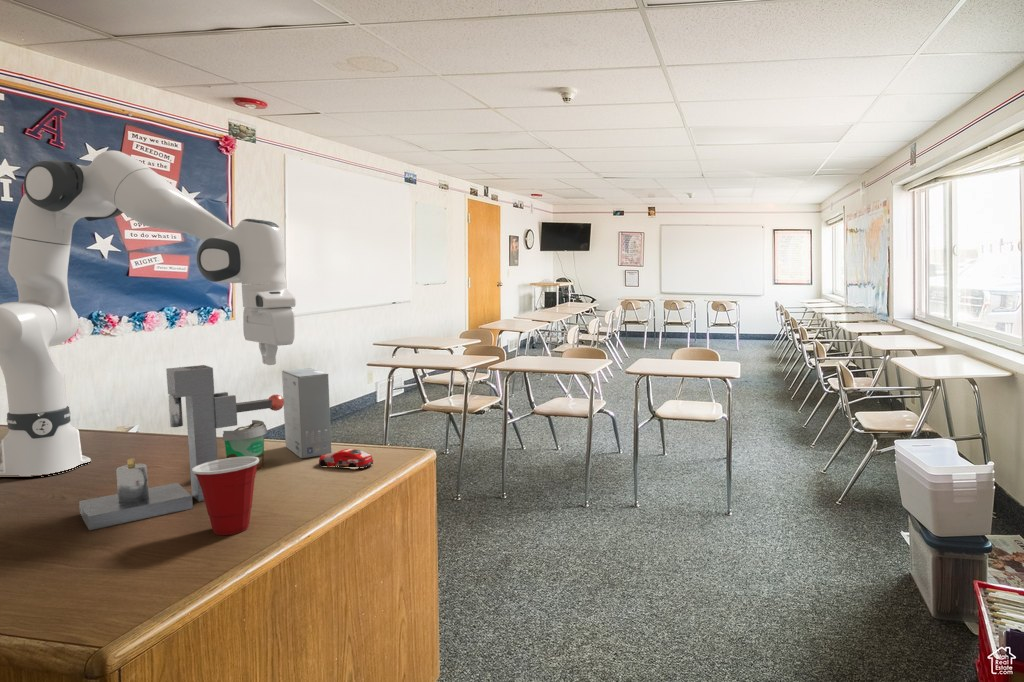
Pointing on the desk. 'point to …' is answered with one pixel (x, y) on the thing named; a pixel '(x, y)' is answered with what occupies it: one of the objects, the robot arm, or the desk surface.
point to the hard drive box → (307, 412)
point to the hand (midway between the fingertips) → (269, 364)
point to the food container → (246, 442)
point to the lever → (261, 404)
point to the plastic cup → (228, 492)
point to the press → (201, 424)
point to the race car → (346, 459)
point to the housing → (132, 482)
